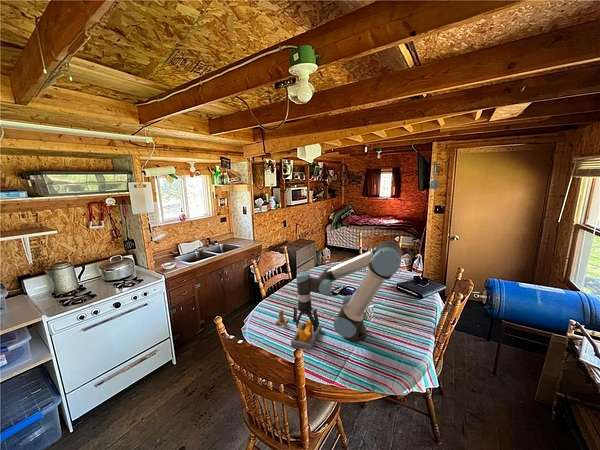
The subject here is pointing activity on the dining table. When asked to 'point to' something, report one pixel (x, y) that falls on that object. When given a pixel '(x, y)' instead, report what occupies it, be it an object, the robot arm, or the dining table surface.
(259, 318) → the dining table surface
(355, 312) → the robot arm
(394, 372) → the dining table surface
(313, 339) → the tray
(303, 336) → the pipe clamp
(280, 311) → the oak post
